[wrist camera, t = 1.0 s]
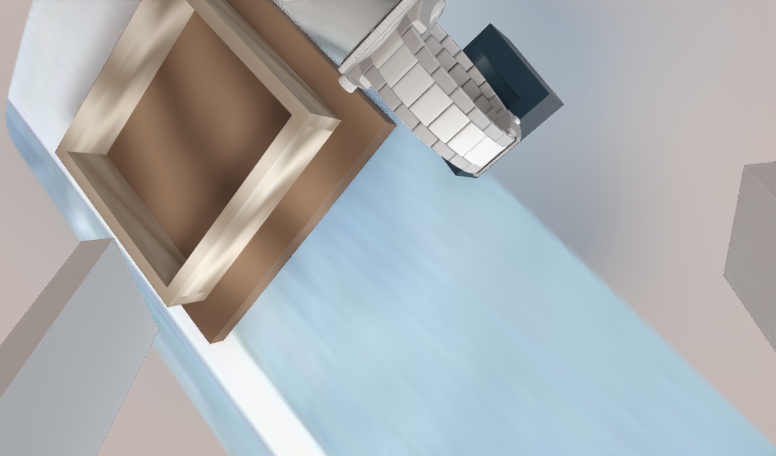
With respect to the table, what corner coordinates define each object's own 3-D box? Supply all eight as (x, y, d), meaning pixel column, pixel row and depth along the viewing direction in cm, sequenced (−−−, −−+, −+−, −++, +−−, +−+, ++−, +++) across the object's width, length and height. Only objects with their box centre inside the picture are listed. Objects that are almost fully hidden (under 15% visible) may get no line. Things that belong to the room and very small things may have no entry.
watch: (485, 11, 31) (387, -78, 21) (587, 132, 29) (530, 94, 19) (406, 89, 33) (283, 40, 23) (496, 206, 31) (403, 206, 21)
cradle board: (211, -61, 39) (159, -89, 35) (396, 125, 33) (358, 115, 30) (83, 154, 45) (27, 149, 41) (223, 340, 39) (173, 354, 36)
